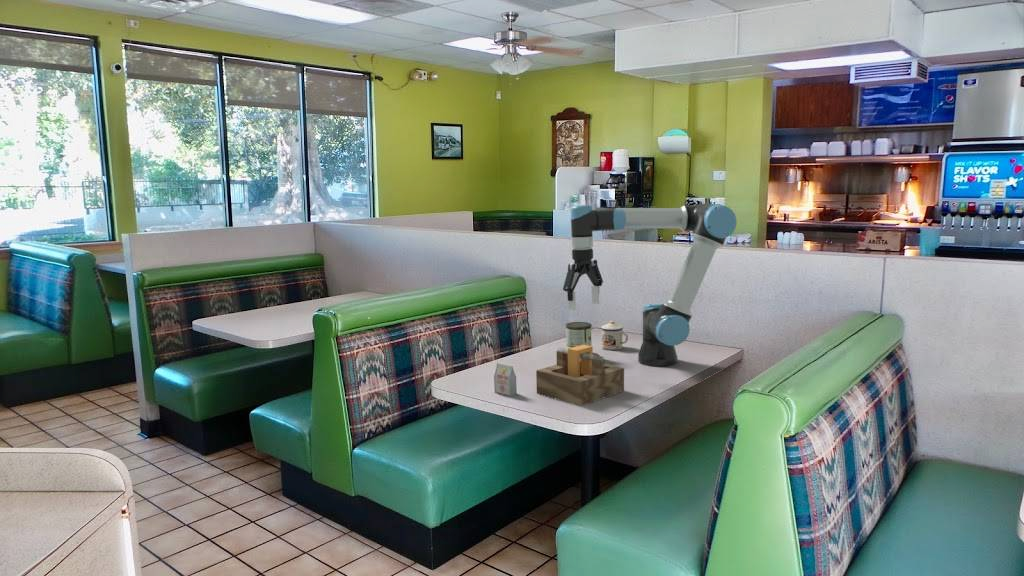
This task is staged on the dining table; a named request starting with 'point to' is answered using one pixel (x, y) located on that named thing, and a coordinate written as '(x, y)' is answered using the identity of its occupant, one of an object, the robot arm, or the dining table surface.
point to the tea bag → (505, 380)
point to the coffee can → (578, 334)
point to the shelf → (579, 380)
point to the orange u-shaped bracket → (575, 361)
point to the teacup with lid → (612, 336)
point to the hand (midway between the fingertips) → (584, 306)
